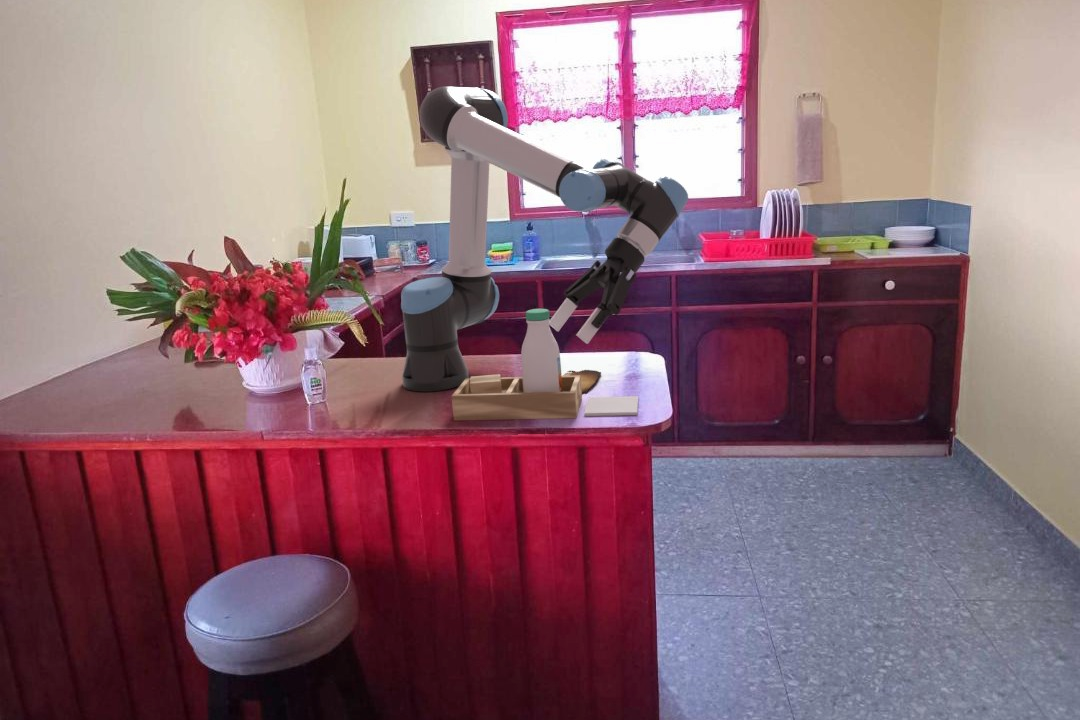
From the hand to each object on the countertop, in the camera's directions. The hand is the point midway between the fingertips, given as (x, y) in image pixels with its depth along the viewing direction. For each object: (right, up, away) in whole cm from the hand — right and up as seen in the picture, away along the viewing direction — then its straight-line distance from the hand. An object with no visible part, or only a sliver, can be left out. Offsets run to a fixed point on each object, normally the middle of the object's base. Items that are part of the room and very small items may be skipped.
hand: (566, 333), depth 154 cm
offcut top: (-16, -12, +4) cm, 20 cm away
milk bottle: (-4, -15, +3) cm, 16 cm away
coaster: (+9, -14, +1) cm, 17 cm away
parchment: (+2, -11, +17) cm, 20 cm away
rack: (-9, -15, +4) cm, 18 cm away
